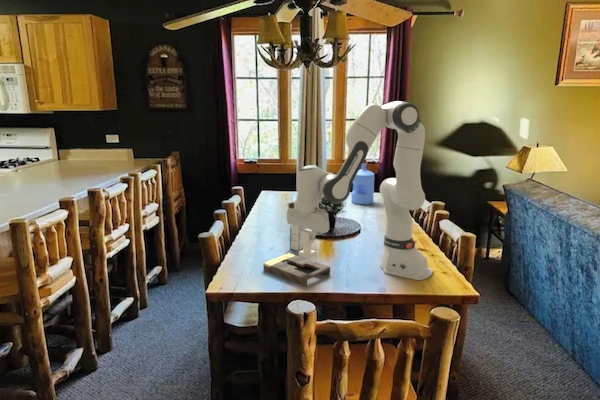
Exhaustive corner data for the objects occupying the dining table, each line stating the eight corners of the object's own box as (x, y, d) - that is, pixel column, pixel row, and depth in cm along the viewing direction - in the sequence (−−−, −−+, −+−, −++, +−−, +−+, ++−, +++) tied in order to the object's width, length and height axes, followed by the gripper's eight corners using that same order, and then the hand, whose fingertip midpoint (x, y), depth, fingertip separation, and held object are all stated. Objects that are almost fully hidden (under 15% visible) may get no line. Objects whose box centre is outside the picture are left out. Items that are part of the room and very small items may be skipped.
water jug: (361, 198, 310) (362, 161, 304) (377, 202, 299) (379, 163, 292) (346, 201, 301) (347, 163, 294) (363, 206, 289) (364, 166, 282)
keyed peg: (315, 255, 174) (316, 230, 171) (307, 258, 170) (308, 233, 167) (306, 252, 177) (306, 227, 174) (298, 255, 173) (298, 230, 171)
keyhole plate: (330, 274, 177) (330, 266, 177) (305, 286, 166) (305, 278, 165) (288, 259, 193) (288, 252, 192) (263, 270, 181) (263, 262, 181)
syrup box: (297, 245, 212) (297, 218, 208) (306, 248, 208) (306, 220, 205) (289, 248, 207) (289, 220, 204) (298, 251, 204) (298, 222, 200)
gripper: (333, 208, 164) (332, 242, 167) (294, 200, 177) (294, 231, 180) (323, 212, 159) (322, 246, 163) (284, 202, 172) (284, 234, 176)
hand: (307, 238), depth 172 cm, fingers closed on keyed peg, 4 cm apart
